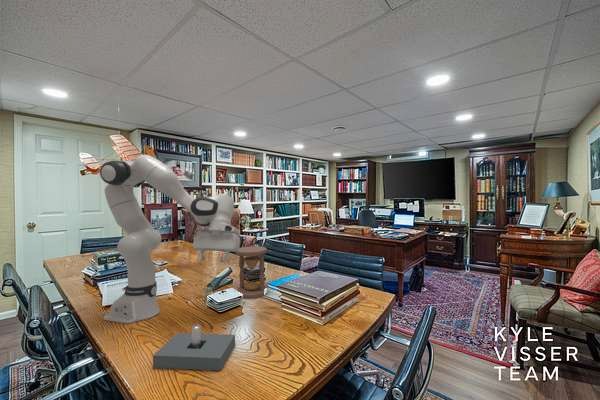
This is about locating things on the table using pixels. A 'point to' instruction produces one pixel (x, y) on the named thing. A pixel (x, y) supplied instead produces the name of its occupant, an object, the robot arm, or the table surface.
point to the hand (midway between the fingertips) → (212, 261)
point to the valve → (210, 292)
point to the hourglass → (252, 287)
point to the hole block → (195, 352)
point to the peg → (196, 336)
